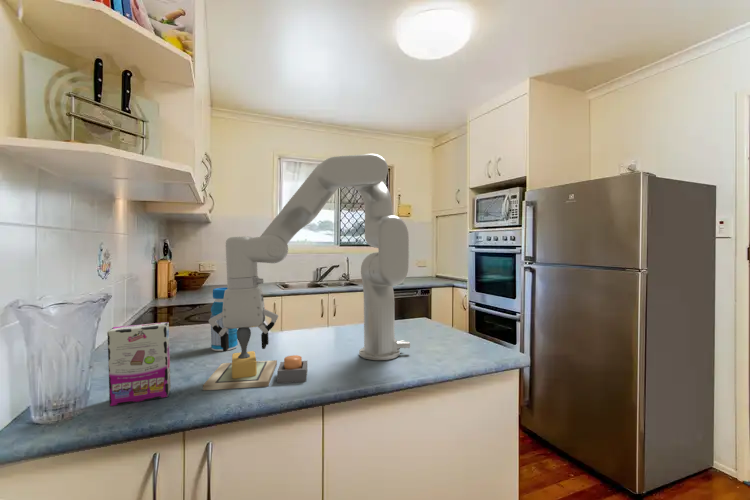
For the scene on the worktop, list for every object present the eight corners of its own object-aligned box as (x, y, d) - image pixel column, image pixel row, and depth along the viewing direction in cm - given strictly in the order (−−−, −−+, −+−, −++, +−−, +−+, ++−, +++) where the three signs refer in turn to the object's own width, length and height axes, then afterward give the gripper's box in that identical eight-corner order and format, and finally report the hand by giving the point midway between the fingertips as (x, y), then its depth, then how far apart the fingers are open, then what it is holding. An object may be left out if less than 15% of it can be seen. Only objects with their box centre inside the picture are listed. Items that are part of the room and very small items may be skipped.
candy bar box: (171, 389, 85) (169, 321, 85) (168, 397, 81) (167, 325, 80) (114, 398, 81) (113, 325, 80) (108, 407, 76) (106, 330, 76)
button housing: (307, 371, 96) (307, 360, 96) (306, 381, 89) (306, 369, 89) (280, 373, 95) (280, 362, 95) (277, 383, 88) (277, 371, 88)
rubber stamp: (256, 375, 90) (256, 328, 90) (232, 379, 88) (231, 330, 88) (254, 363, 99) (254, 320, 99) (232, 366, 97) (231, 322, 97)
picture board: (276, 364, 102) (276, 359, 102) (268, 386, 86) (268, 380, 86) (221, 367, 100) (221, 362, 100) (202, 390, 84) (202, 384, 84)
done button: (302, 368, 95) (302, 354, 95) (301, 373, 90) (301, 360, 90) (285, 369, 94) (285, 355, 94) (283, 375, 90) (283, 361, 90)
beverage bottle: (212, 353, 114) (211, 290, 113) (209, 346, 121) (208, 288, 121) (240, 349, 118) (239, 288, 118) (236, 343, 125) (235, 286, 125)
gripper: (278, 280, 98) (280, 342, 98) (212, 283, 96) (214, 347, 96) (274, 283, 91) (277, 350, 91) (202, 287, 88) (205, 355, 89)
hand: (245, 348), depth 93 cm, fingers open, 9 cm apart
